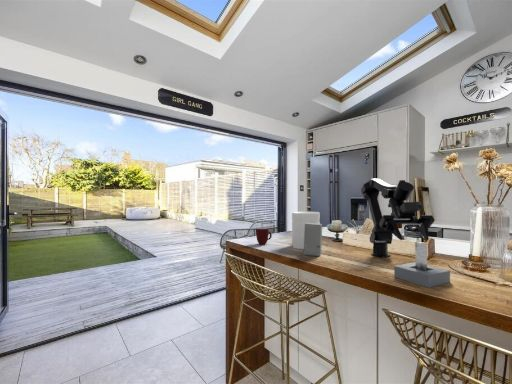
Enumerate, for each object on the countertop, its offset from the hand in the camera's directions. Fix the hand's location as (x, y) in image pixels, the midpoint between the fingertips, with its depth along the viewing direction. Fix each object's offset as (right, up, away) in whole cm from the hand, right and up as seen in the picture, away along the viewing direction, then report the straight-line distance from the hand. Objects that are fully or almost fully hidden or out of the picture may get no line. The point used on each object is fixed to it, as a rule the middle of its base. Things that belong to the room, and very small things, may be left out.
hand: (414, 239), depth 92 cm
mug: (-54, -15, +60) cm, 82 cm away
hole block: (0, -13, -4) cm, 14 cm away
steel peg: (0, -13, -4) cm, 14 cm away
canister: (-30, -14, +53) cm, 62 cm away
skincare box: (-30, -14, +34) cm, 47 cm away
